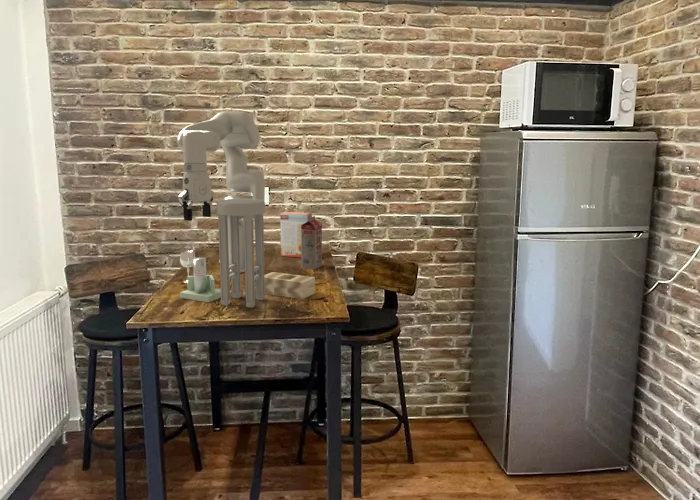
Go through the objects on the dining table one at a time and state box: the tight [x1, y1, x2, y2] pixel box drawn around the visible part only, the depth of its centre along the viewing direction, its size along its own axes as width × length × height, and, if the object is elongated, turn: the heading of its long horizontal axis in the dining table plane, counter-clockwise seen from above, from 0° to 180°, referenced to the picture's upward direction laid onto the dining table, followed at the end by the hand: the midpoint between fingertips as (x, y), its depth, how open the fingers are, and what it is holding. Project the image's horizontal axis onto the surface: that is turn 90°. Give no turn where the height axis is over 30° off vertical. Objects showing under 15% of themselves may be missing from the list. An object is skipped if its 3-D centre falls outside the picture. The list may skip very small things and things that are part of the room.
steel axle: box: [192, 257, 208, 294], centre depth 205 cm, size 4×4×12 cm
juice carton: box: [301, 215, 323, 270], centre depth 254 cm, size 7×7×22 cm
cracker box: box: [280, 211, 313, 258], centre depth 275 cm, size 14×6×21 cm, turn 71°
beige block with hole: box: [264, 271, 316, 300], centre depth 213 cm, size 18×9×6 cm, turn 65°
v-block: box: [179, 274, 221, 303], centre depth 207 cm, size 10×12×7 cm
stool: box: [216, 198, 266, 308], centre depth 199 cm, size 16×16×35 cm
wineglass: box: [179, 249, 196, 284], centre depth 228 cm, size 6×6×12 cm
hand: (197, 218), depth 201 cm, fingers open, 9 cm apart
